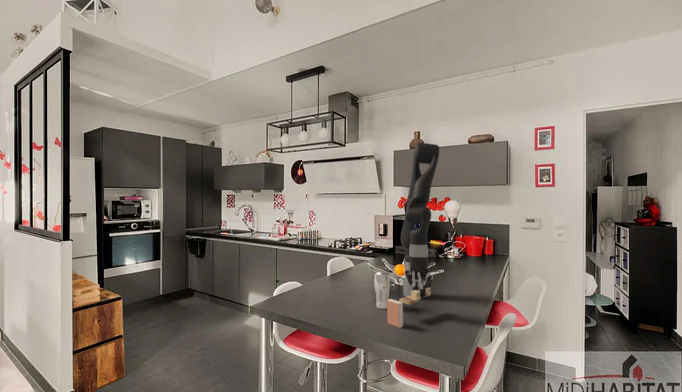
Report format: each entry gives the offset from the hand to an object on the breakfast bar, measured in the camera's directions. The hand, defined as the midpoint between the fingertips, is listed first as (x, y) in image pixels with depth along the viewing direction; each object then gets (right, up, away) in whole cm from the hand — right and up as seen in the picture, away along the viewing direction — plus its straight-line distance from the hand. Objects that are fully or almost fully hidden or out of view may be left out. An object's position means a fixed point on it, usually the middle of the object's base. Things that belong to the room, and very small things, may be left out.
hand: (419, 296), depth 128 cm
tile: (-12, -8, -10) cm, 17 cm away
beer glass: (-14, -8, +11) cm, 19 cm away
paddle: (-2, 0, -1) cm, 2 cm away
